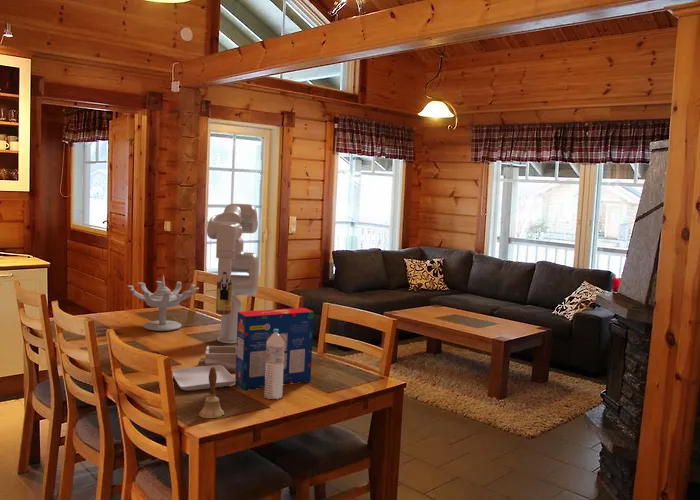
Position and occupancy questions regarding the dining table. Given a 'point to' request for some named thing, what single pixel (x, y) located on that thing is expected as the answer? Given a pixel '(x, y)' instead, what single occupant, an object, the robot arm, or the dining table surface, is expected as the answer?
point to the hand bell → (212, 399)
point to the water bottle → (274, 366)
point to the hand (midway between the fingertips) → (224, 297)
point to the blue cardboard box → (252, 345)
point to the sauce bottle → (224, 305)
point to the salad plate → (201, 377)
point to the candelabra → (162, 303)
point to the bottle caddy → (220, 357)
